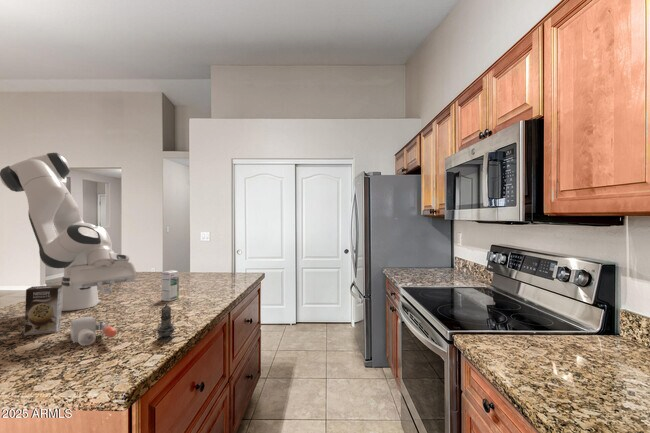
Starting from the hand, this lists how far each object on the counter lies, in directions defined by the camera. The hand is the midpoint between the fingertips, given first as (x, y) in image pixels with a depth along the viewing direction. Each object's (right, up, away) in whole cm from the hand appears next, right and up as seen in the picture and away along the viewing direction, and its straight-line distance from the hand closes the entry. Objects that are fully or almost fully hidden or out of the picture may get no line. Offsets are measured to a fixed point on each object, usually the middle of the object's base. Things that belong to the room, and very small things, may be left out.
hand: (107, 293), depth 114 cm
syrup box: (-2, -15, +50) cm, 52 cm away
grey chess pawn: (+22, -15, -3) cm, 27 cm away
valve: (-6, -14, -4) cm, 16 cm away
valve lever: (-3, -12, +1) cm, 12 cm away
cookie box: (-25, -15, +2) cm, 29 cm away
